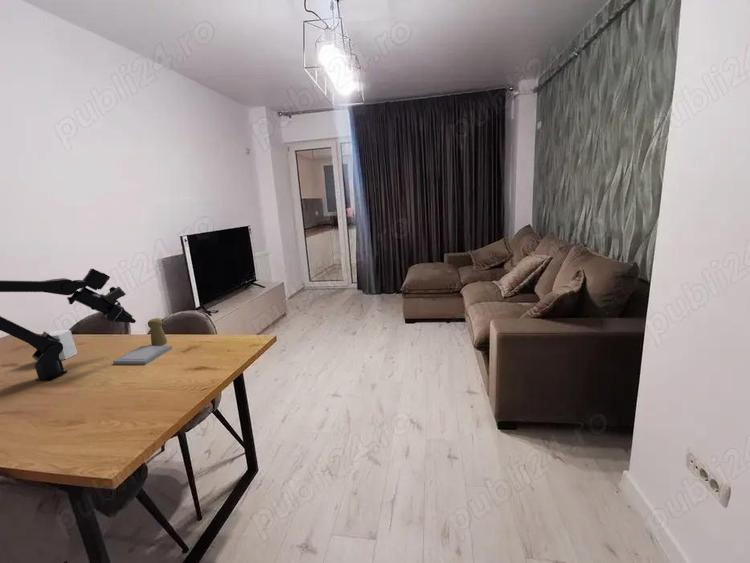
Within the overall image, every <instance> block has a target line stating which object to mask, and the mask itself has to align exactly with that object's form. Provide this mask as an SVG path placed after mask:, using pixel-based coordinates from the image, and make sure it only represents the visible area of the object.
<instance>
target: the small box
mask: <svg viewBox="0 0 750 563" xmlns="http://www.w3.org/2000/svg"><path fill="white" fill-rule="evenodd" d="M47 333H48V334H49V335H51V336H55V337H57V338H58V339H60V341H59V342H60V343H62V344H63V350H62V352H61V353H60V354H59V358H60V360H61V361H62V360H63V361H65V360H64V359H66V360H67V359H70V358H71V357H74V356H76V355H77V354H78V351H77V347H76V344H75V341H74V337H73V334H72V331H71V330H54V331H51V332H47Z"/></svg>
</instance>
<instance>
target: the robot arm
mask: <svg viewBox="0 0 750 563" xmlns="http://www.w3.org/2000/svg"><path fill="white" fill-rule="evenodd" d="M110 279H111V276H109V275H108V274H106V273H104V272H101V271H99V270H96V269H95V268H90V269H89V270H88V272H87V274H86V275H85V276H84V278H83V279H77V280H76V279H75V280H74V279H73V280H72V279H69V278H66V277H63V278H54V279H45V280H8V279H7V280H3V279H1V280H0V293H48V294H54V295H61V296H67V297H66V299H67V300H68V304H69V305H73V304H74V303H75V302H77V303H79V304H82V305H84V306H86V307H87V308H90V310H92V311H97V312H98V313H101V315H103V316H105V318H106V320H107V321H109V322H111V323H129V324H135V323H136V322H137V320H136V319H134V318H133V315H132V314H131V313H129V312H128V311H127V310H125V307H124V306H121V302H120V301H119V300H118V299H120V298H123V297H124V296H126V294H127V293H126V292H125V291H124V290H123V289H122V288H121V287H120V286H117V287H115V286H111V287H110V288H109V289H108V290H109V292H107V293H106V294H105V295H104V294H102V293H98V292H95V291H97V290H102V289H103V288H104V286H105V285H106V284H107V283H108V281H109V280H110ZM87 287H88V288H87ZM89 288H90V289H89ZM69 296H70V297H69ZM0 331H1V332H4V333H5V334H7V335H10V336H11V337H13V338H16V339H18V340H20V341H22V342H25V343H26V344H28V345H30V346H31V347H33V348H35V349H36V350H35V351H34V353H33V354H32V356H31V358H32V359H34V360H35V362H36V363H35V364H33V365H34V369H35V372H36V375H37V378H35V379H34V380H35V381H41V382H42V381H43V382H44V381H45V382H47V381H48V382H49V381H52V380H54V379H56V378H59V377H61V376H62V375H65V374H66V373H68V370H65V367H64V365H63V361H62V360H60V358H59V354H60V353H61V352H62V350H63V344H62V343H60V342H59V341H60V339H58V338H57V337H55V336H51V335H49V334H48V333H49V332H46V331H43V332H42V334H40V333H36V332H34V331H31V330H29V329H28V328H25V327H23V326H21V325H19V324H18V323H16V322H13V321H12V320H9V319H7V318H5V317H3V316H1V315H0Z"/></svg>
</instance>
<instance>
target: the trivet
mask: <svg viewBox="0 0 750 563" xmlns="http://www.w3.org/2000/svg"><path fill="white" fill-rule="evenodd" d="M172 349H173V346H172V345H161V346H152V345H141V346H139V347H137V348H135V349H133V350H131V351H130V352H128V353H126V354H124V355H122V356H119V357H118V358H116V359H114V360H112V363H113V365H147V364H149V363H151V362H152V361H154V360H155V359H157V358H159V357H160V356H162V355H164V354H166V353H167V352H169V351H171V350H172Z"/></svg>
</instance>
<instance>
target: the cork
mask: <svg viewBox="0 0 750 563" xmlns="http://www.w3.org/2000/svg"><path fill="white" fill-rule="evenodd" d="M162 325H163V320H162V319H161V318H159V317H155V318H152V319H149V320H148V321H147V326H148V328H149V330H150V342H151V343H150V344H151V345H150V346H165V345H166V344H168V342H167V341H168V339H167V336H166V334H165V331H164V330H163V327H162Z"/></svg>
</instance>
